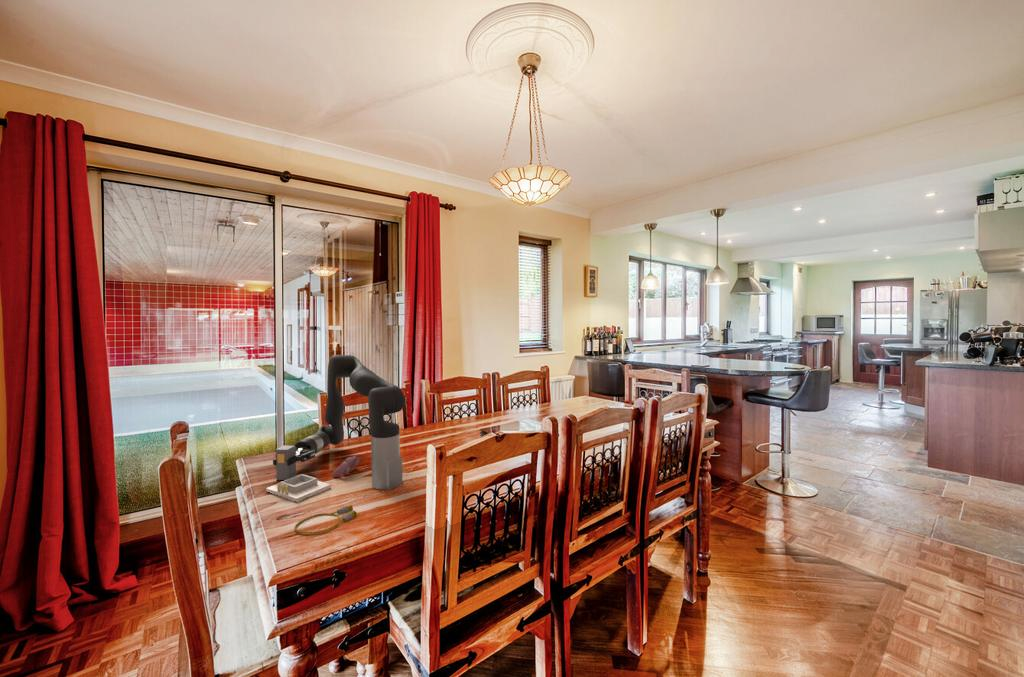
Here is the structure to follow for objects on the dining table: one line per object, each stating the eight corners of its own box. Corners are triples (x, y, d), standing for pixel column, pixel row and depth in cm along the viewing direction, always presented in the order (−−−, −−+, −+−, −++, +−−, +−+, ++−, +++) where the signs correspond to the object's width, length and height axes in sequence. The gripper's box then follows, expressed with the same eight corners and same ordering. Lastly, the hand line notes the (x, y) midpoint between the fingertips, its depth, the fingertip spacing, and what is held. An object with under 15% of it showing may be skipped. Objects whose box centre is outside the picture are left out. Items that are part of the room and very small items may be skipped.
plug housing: (296, 475, 146) (295, 445, 146) (287, 481, 141) (286, 450, 141) (284, 475, 146) (283, 445, 146) (275, 481, 141) (274, 450, 141)
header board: (330, 487, 136) (330, 477, 136) (296, 502, 125) (296, 490, 125) (300, 478, 143) (300, 468, 143) (266, 491, 133) (265, 480, 133)
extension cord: (357, 528, 111) (357, 521, 110) (292, 541, 105) (291, 533, 104) (356, 509, 122) (356, 502, 122) (297, 519, 116) (297, 512, 116)
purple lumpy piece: (340, 482, 144) (348, 465, 143) (330, 476, 145) (337, 459, 144) (356, 472, 154) (363, 456, 153) (346, 466, 154) (353, 450, 153)
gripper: (290, 437, 158) (260, 451, 141) (326, 437, 157) (300, 452, 140) (291, 456, 159) (261, 473, 142) (326, 456, 158) (301, 473, 141)
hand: (281, 462), depth 141 cm, fingers closed on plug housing, 4 cm apart
